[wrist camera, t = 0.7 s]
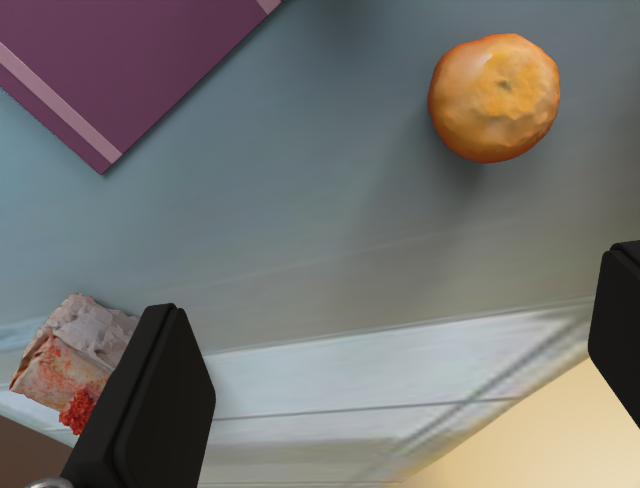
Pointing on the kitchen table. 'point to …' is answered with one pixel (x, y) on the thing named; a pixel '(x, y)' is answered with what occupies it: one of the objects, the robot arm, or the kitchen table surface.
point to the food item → (73, 358)
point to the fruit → (494, 97)
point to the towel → (114, 62)
